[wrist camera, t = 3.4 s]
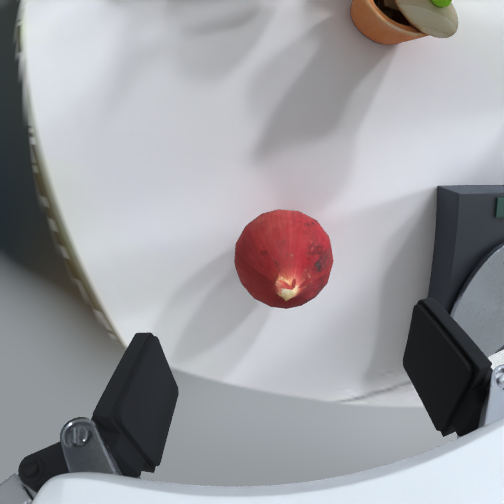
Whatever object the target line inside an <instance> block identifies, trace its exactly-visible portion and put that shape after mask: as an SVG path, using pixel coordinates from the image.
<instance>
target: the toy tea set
mask: <svg viewBox="0 0 504 504" xmlns="http://www.w3.org/2000/svg"><path fill="white" fill-rule="evenodd" d="M451 1H452V0H353V2H352V5H351V10H350V12H351V17H352V20H353V22H354V24H355V26H356V27H357V28H358V30H359V31H360V32H361V33H362V34H364V35H365V36H366V37H368V38H369V39H371V40H373V41H375V42H377V43H380V44H385V45H393V44H398V43H401V42H405V41H409V40H413V39H417V38H421V37H425V36H428V35H430V36H434V37H437V38H448V37H450V36H452V35H453V34H454V33H455V32H456V31H457V28H458V18H457V14H456V11H455V9H454V7H453V5H452V3H451Z"/></svg>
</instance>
